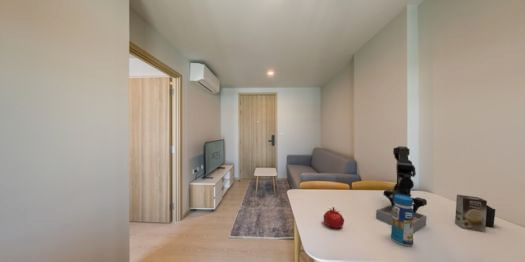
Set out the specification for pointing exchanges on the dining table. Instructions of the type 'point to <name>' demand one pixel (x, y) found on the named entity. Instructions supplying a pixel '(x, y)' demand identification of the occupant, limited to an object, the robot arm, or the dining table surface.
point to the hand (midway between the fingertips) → (403, 212)
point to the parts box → (385, 216)
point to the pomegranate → (333, 218)
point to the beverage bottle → (402, 220)
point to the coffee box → (471, 213)
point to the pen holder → (490, 216)
